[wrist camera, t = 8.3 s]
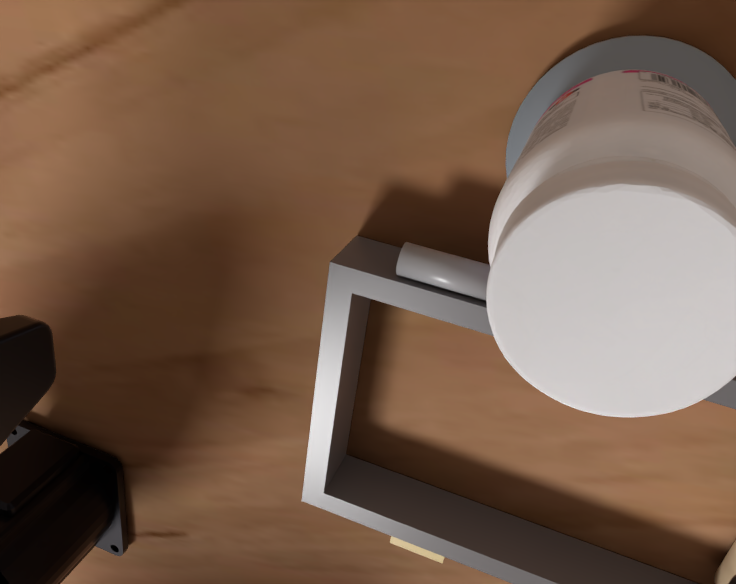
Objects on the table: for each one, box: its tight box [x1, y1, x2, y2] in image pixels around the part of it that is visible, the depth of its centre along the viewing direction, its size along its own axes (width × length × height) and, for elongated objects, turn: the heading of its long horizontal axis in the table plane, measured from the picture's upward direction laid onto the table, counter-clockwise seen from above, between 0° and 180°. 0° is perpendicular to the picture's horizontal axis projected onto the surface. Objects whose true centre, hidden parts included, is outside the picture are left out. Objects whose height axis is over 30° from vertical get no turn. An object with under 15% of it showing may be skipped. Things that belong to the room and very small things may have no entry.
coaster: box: [506, 35, 736, 178], centre depth 17 cm, size 6×6×1 cm
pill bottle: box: [486, 70, 736, 417], centre depth 13 cm, size 5×5×8 cm
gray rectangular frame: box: [302, 236, 736, 584], centre depth 20 cm, size 12×17×2 cm
